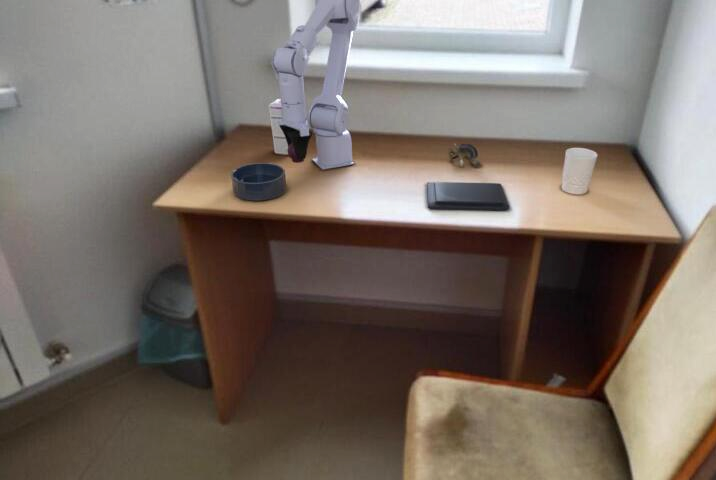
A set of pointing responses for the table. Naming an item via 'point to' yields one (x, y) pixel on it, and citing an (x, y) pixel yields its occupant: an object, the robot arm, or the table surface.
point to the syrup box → (277, 128)
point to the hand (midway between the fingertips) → (297, 155)
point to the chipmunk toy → (465, 154)
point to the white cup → (578, 170)
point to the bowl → (258, 181)
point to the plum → (293, 154)
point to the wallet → (466, 196)
